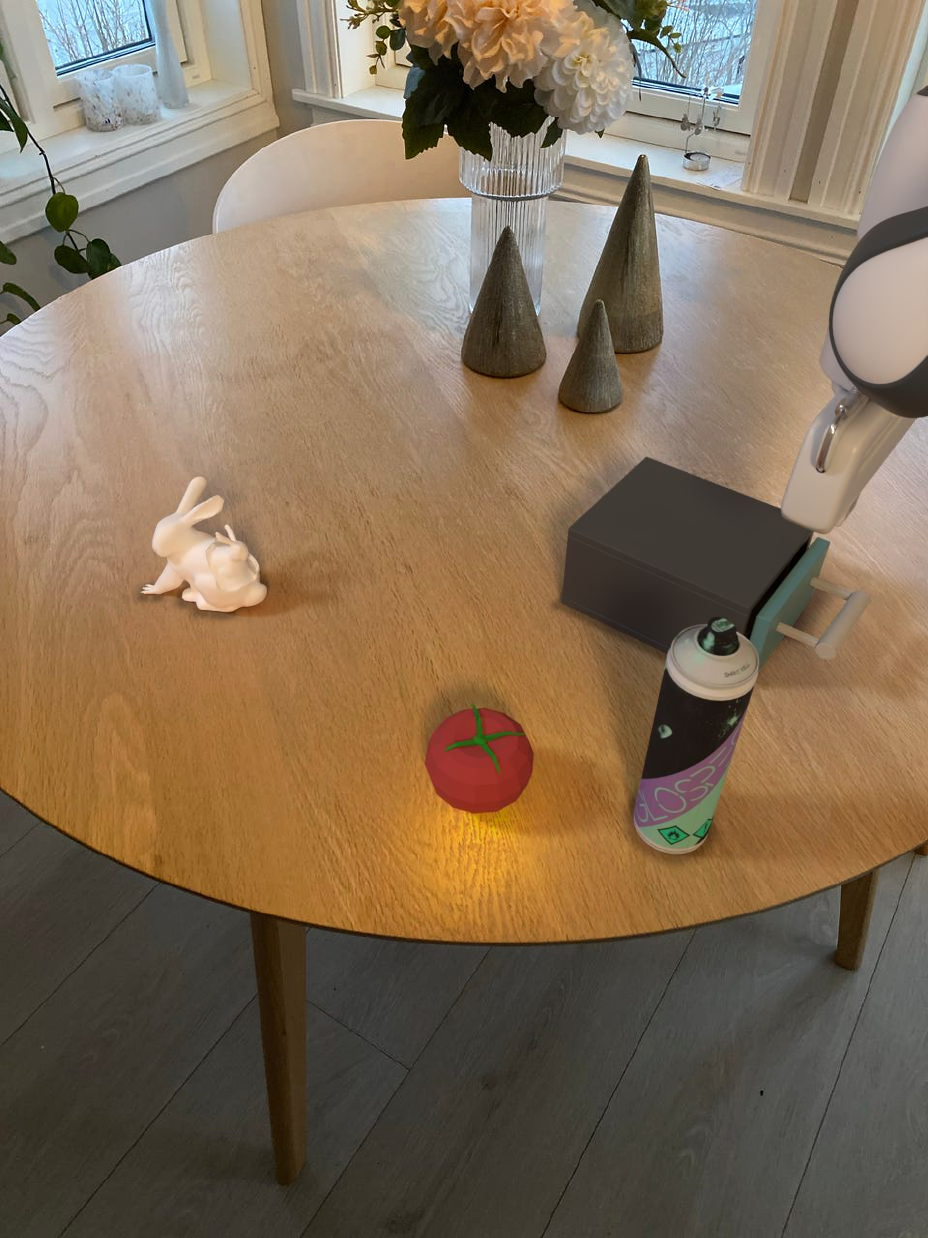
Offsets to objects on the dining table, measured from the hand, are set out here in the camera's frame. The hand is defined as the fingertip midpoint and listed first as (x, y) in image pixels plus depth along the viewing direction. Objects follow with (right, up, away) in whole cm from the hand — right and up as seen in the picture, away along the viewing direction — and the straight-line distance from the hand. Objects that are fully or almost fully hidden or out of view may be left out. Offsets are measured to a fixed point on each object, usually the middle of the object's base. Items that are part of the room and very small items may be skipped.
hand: (836, 515), depth 73 cm
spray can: (-13, -23, -3) cm, 27 cm away
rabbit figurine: (-51, -5, +16) cm, 54 cm away
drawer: (-5, -7, +12) cm, 15 cm away
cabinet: (-9, -6, +15) cm, 18 cm away
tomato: (-27, -21, -1) cm, 34 cm away
